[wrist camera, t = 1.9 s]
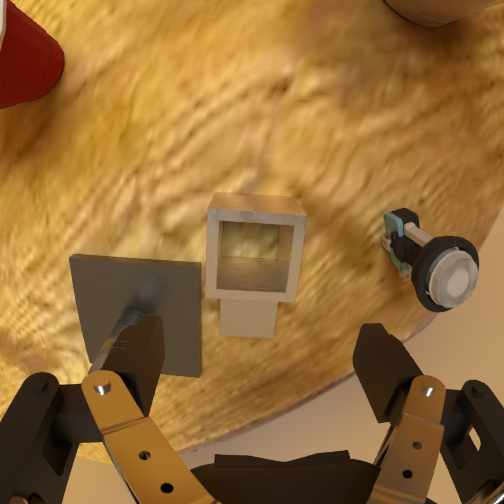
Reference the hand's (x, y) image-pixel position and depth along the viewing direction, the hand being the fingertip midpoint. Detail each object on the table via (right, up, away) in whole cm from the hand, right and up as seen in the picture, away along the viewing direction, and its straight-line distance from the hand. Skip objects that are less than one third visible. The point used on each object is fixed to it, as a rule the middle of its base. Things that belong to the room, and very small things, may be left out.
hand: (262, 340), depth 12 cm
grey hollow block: (-1, +3, +14) cm, 15 cm away
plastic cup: (-19, +20, +8) cm, 29 cm away
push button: (+12, +4, +15) cm, 20 cm away
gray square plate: (-11, -3, +16) cm, 20 cm away
